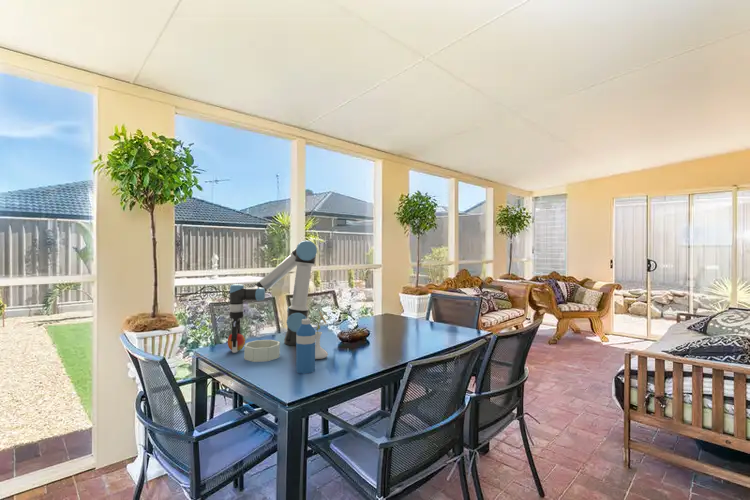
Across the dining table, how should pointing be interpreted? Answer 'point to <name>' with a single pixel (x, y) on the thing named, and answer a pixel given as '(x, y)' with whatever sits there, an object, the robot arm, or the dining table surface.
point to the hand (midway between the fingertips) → (236, 349)
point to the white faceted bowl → (262, 350)
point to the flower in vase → (319, 351)
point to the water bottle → (305, 348)
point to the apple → (239, 341)
